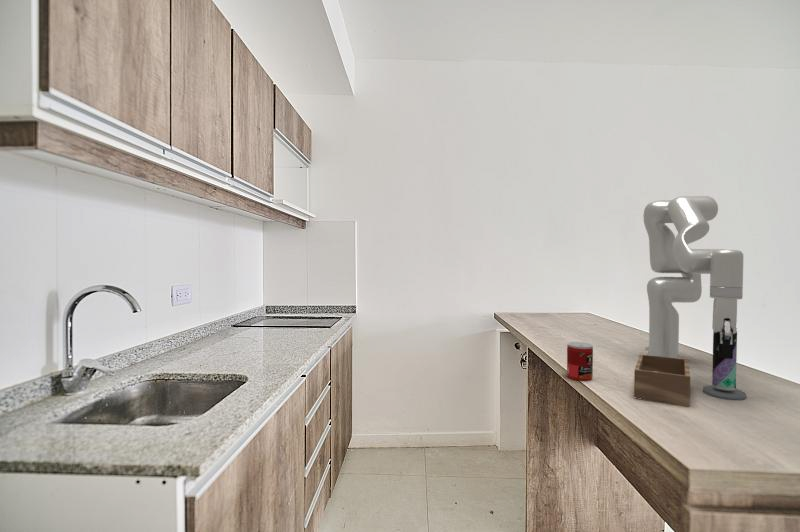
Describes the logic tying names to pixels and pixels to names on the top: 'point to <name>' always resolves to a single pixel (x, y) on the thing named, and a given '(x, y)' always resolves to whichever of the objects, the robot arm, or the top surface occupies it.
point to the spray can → (724, 365)
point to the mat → (724, 393)
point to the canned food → (580, 361)
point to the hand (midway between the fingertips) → (724, 355)
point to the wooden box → (662, 380)
